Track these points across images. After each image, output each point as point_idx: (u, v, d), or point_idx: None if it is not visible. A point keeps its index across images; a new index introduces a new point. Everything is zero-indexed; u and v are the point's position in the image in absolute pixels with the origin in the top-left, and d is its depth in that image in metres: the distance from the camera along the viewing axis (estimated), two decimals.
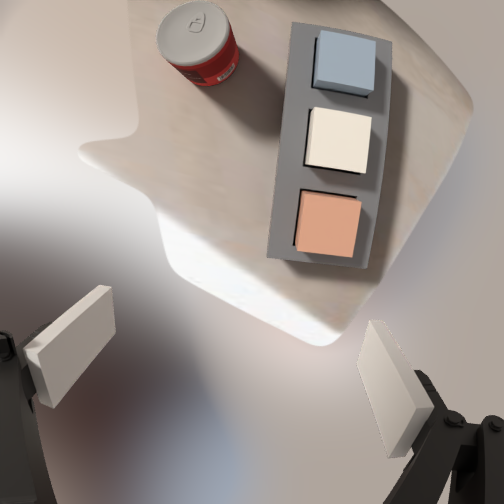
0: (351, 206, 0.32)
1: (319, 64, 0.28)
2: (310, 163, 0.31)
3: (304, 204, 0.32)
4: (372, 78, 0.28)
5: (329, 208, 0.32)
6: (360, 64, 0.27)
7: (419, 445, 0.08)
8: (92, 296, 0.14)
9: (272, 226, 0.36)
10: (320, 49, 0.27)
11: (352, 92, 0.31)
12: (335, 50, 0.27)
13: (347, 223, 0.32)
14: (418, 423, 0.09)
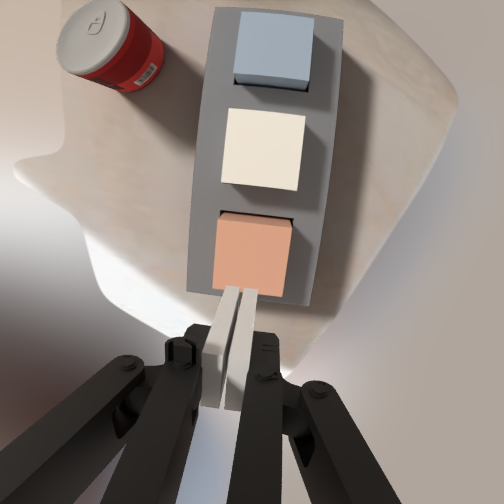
0: (278, 234, 0.26)
1: (236, 53, 0.22)
2: (223, 181, 0.25)
3: (217, 232, 0.26)
4: (307, 65, 0.22)
5: (248, 236, 0.26)
6: (291, 49, 0.22)
7: None
8: (229, 296, 0.16)
9: (189, 256, 0.30)
10: (239, 35, 0.21)
11: (286, 86, 0.25)
12: (258, 34, 0.21)
13: (274, 255, 0.26)
14: (238, 374, 0.11)
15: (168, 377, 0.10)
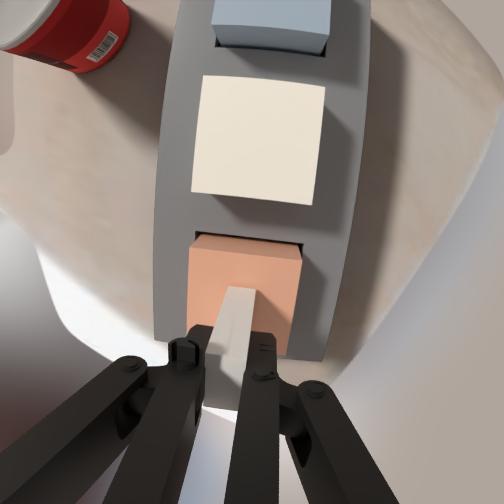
0: (282, 270, 0.17)
1: None
2: (194, 189, 0.16)
3: (190, 266, 0.17)
4: (326, 13, 0.13)
5: (236, 273, 0.17)
6: None
7: None
8: (231, 296, 0.16)
9: (155, 294, 0.21)
10: None
11: (293, 47, 0.16)
12: None
13: (274, 300, 0.17)
14: (235, 373, 0.11)
15: (171, 378, 0.10)
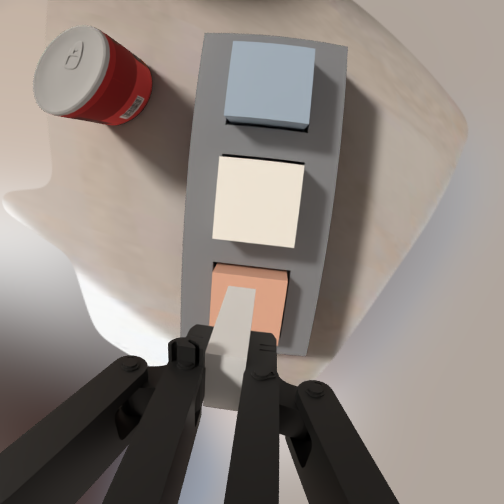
0: (274, 287, 0.25)
1: (227, 92, 0.21)
2: (214, 237, 0.23)
3: (212, 284, 0.26)
4: (307, 105, 0.21)
5: None
6: (289, 86, 0.20)
7: None
8: (231, 296, 0.16)
9: (182, 306, 0.28)
10: (230, 69, 0.20)
11: (284, 126, 0.24)
12: (251, 69, 0.20)
13: (269, 307, 0.26)
14: (235, 373, 0.11)
15: (171, 377, 0.10)
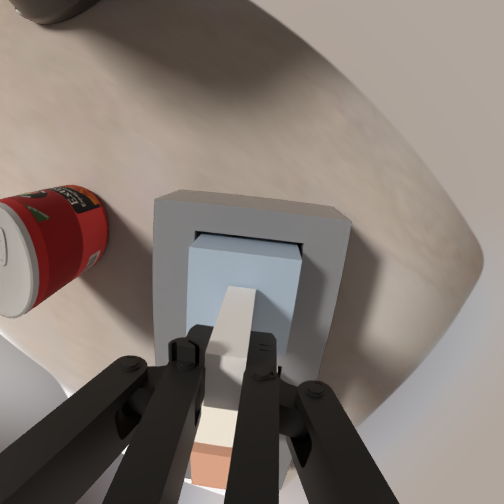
0: None
1: (188, 317, 0.18)
2: None
3: (191, 457, 0.23)
4: (285, 336, 0.18)
5: (220, 463, 0.23)
6: (263, 313, 0.18)
7: None
8: (231, 296, 0.16)
9: None
10: (189, 288, 0.18)
11: None
12: (215, 290, 0.18)
13: None
14: (235, 373, 0.11)
15: (171, 378, 0.10)
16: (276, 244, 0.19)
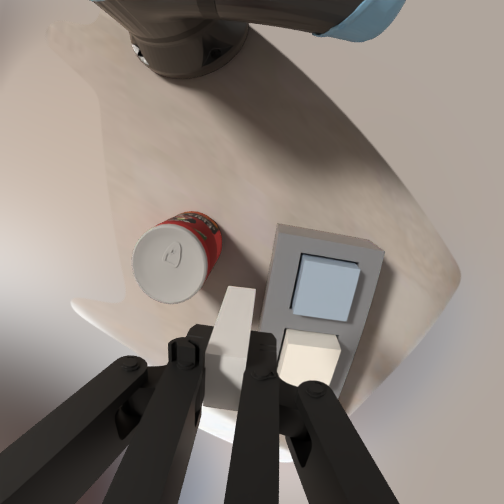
0: None
1: (297, 299, 0.33)
2: None
3: None
4: (347, 310, 0.33)
5: None
6: (338, 297, 0.33)
7: None
8: (231, 296, 0.16)
9: None
10: (301, 282, 0.33)
11: None
12: (315, 284, 0.33)
13: None
14: (235, 373, 0.11)
15: (171, 378, 0.10)
16: (343, 260, 0.35)
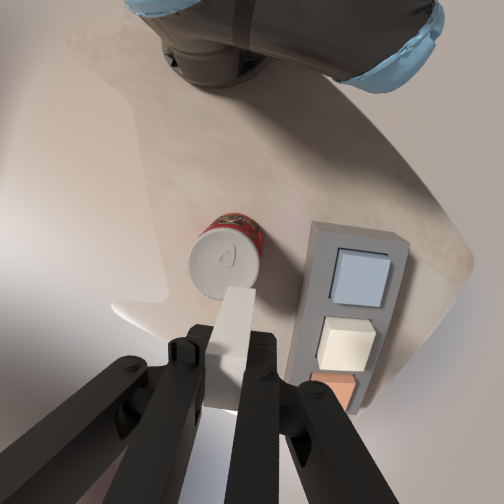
0: (347, 386, 0.40)
1: (337, 289, 0.37)
2: (321, 368, 0.38)
3: None
4: (380, 296, 0.36)
5: None
6: (372, 285, 0.36)
7: None
8: (231, 296, 0.16)
9: None
10: (340, 274, 0.36)
11: None
12: (352, 274, 0.36)
13: (343, 395, 0.41)
14: (235, 373, 0.11)
15: (171, 377, 0.10)
16: (374, 252, 0.38)
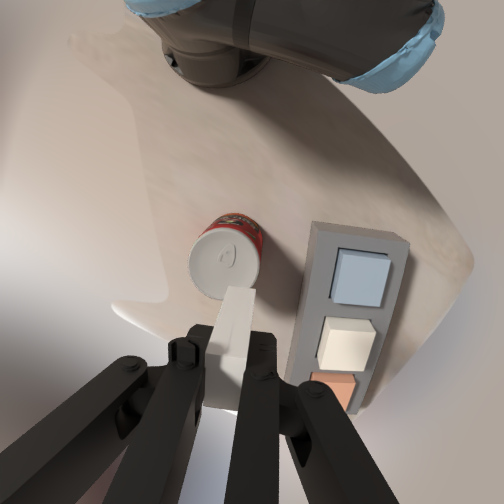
0: (347, 386, 0.40)
1: (337, 289, 0.37)
2: (321, 368, 0.38)
3: None
4: (380, 296, 0.36)
5: None
6: (372, 285, 0.36)
7: None
8: (231, 296, 0.16)
9: None
10: (340, 274, 0.36)
11: None
12: (352, 274, 0.36)
13: (343, 395, 0.41)
14: (235, 373, 0.11)
15: (171, 378, 0.10)
16: (374, 252, 0.38)
